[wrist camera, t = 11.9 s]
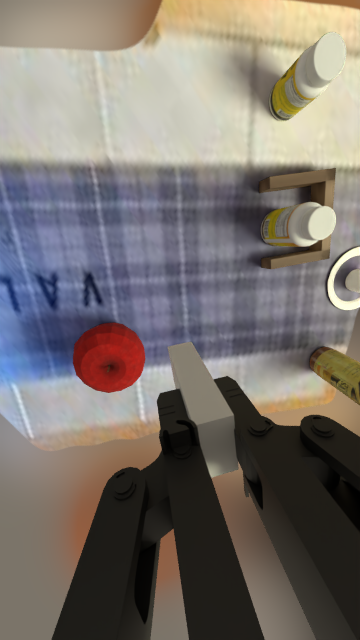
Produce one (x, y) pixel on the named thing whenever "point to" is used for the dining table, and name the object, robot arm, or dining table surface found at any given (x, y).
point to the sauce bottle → (338, 371)
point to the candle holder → (354, 282)
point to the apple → (109, 357)
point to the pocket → (320, 194)
